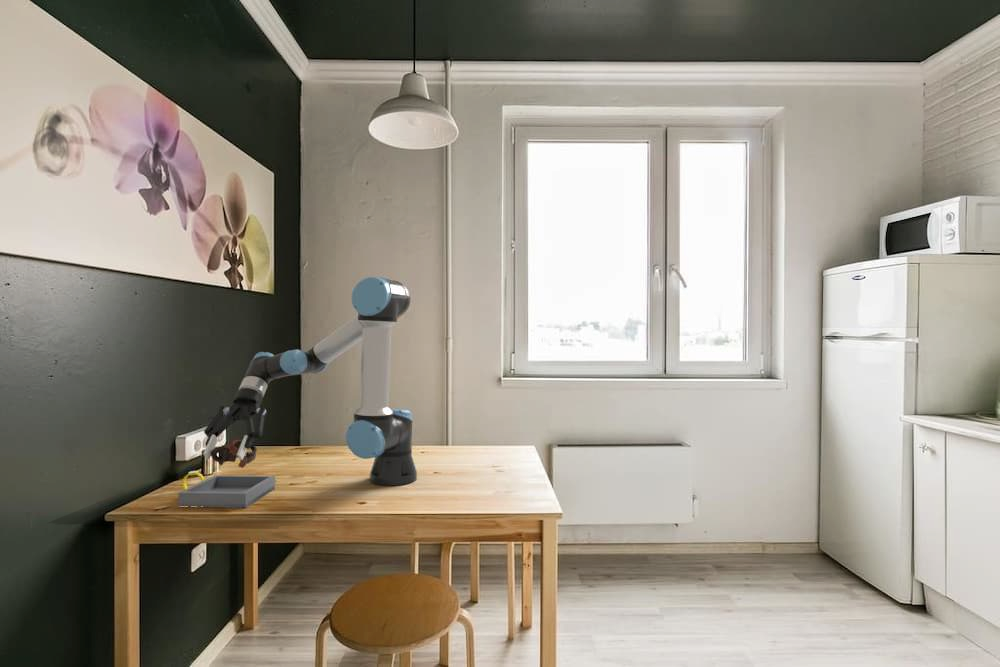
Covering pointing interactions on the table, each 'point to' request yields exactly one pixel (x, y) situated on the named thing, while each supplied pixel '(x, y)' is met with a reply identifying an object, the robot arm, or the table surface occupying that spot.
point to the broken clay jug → (233, 454)
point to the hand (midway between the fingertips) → (222, 456)
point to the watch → (192, 474)
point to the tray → (227, 491)
